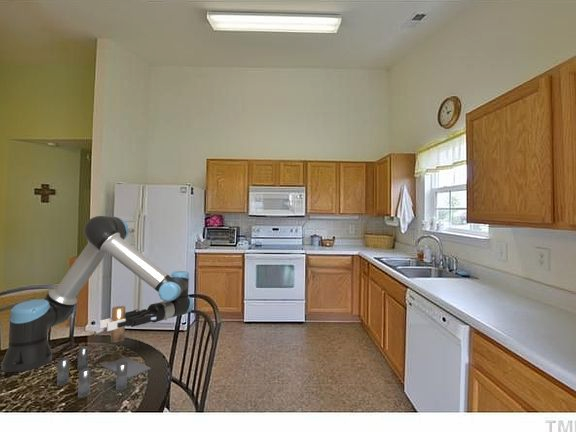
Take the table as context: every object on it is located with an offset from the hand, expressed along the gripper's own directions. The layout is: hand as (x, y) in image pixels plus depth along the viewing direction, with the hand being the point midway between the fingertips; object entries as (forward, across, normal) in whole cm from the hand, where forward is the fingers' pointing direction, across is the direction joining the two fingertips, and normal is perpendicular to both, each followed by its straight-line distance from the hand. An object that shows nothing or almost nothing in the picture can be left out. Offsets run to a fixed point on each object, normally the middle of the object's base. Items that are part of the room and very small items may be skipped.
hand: (103, 325), depth 111 cm
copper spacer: (-5, 0, -7) cm, 8 cm away
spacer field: (+5, 0, -18) cm, 19 cm away
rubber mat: (-9, 0, -18) cm, 21 cm away
